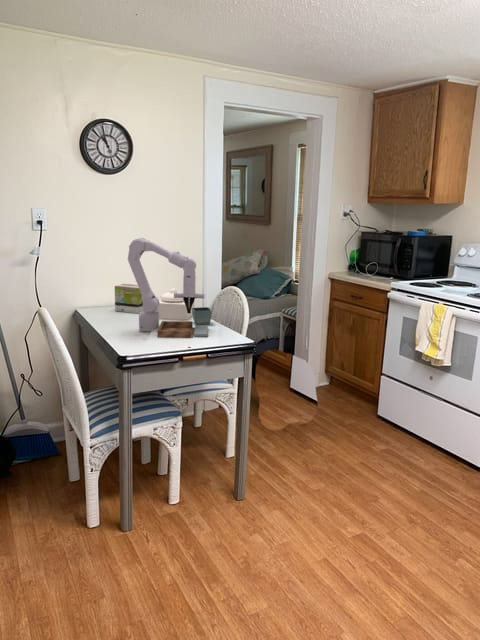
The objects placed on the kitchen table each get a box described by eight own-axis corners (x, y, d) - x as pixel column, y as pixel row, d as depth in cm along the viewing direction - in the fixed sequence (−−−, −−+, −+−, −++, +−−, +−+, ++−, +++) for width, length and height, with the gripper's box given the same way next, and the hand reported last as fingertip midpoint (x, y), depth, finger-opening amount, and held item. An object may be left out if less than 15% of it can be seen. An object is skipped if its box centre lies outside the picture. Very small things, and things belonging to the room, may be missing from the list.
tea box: (114, 311, 285) (113, 285, 282) (123, 308, 294) (122, 283, 291) (138, 313, 281) (138, 287, 278) (146, 310, 290) (146, 285, 287)
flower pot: (194, 328, 249) (194, 310, 247) (191, 324, 258) (191, 307, 256) (211, 328, 252) (212, 310, 250) (208, 324, 260) (208, 307, 258)
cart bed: (157, 340, 225) (157, 330, 224) (161, 330, 245) (161, 320, 244) (193, 341, 226) (193, 331, 225) (194, 330, 246) (195, 321, 245)
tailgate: (194, 334, 227) (207, 333, 227) (195, 325, 244) (207, 325, 244) (194, 338, 228) (207, 338, 228) (195, 329, 244) (208, 329, 244)
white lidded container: (194, 314, 284) (194, 286, 281) (186, 321, 267) (186, 291, 263) (163, 312, 286) (163, 284, 283) (154, 319, 269) (154, 289, 265)
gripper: (173, 285, 235) (173, 314, 238) (204, 286, 236) (203, 315, 238) (174, 283, 242) (174, 311, 245) (204, 284, 242) (204, 312, 245)
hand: (188, 313), depth 242 cm, fingers closed
